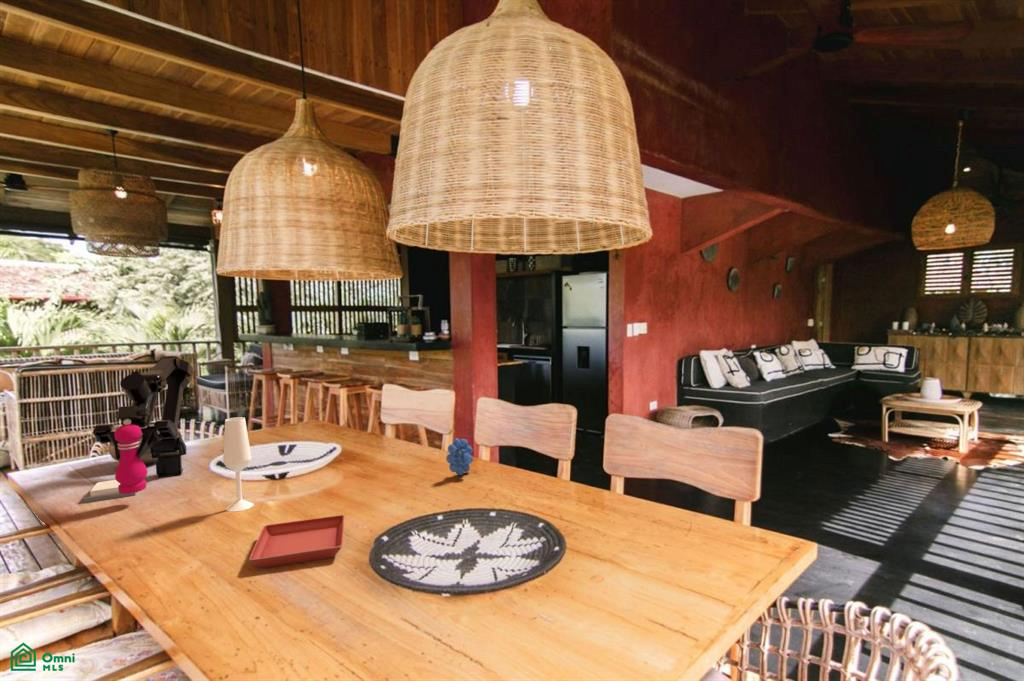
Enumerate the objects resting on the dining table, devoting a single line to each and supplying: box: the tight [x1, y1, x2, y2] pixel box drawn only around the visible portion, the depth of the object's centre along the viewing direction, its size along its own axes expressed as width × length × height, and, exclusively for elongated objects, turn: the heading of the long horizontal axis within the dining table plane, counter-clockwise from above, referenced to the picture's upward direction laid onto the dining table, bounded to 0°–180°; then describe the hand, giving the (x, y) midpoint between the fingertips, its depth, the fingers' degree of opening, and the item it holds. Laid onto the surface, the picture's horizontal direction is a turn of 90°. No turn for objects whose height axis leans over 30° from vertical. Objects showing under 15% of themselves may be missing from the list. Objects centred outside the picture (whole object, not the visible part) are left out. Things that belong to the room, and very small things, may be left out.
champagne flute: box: [222, 416, 254, 513], centre depth 142 cm, size 7×7×24 cm
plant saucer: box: [248, 514, 346, 568], centre depth 117 cm, size 18×18×3 cm
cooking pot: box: [107, 423, 158, 467], centre depth 186 cm, size 25×19×12 cm
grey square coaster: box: [82, 479, 138, 504], centre depth 155 cm, size 12×11×3 cm
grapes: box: [445, 437, 474, 476], centre depth 164 cm, size 12×7×12 cm, turn 145°
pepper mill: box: [114, 419, 148, 494], centre depth 145 cm, size 7×7×20 cm
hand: (127, 458), depth 143 cm, fingers closed on pepper mill, 5 cm apart
